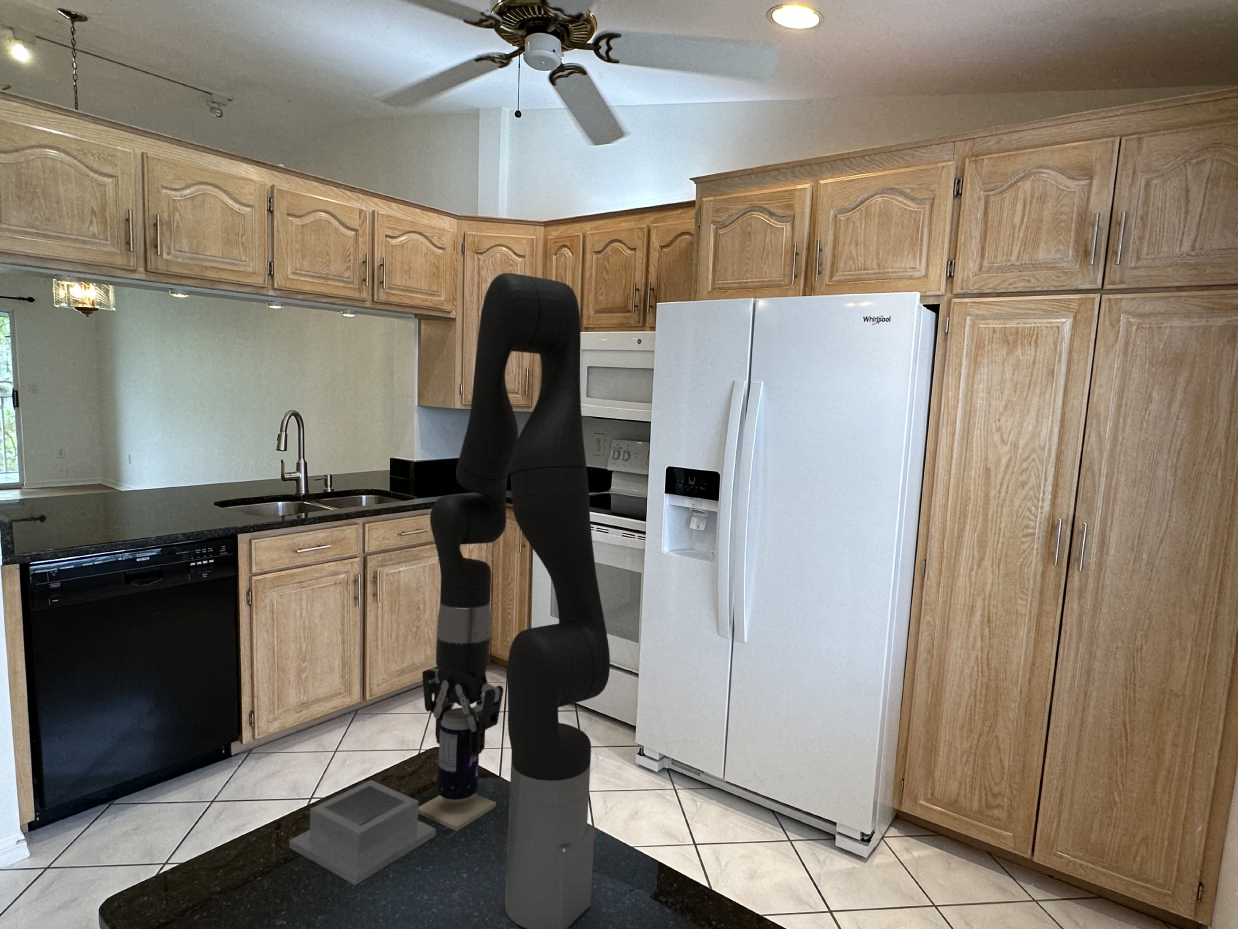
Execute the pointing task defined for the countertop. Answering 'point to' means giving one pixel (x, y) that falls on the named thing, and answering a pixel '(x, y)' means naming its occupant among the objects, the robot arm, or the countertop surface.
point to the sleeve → (362, 831)
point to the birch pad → (456, 811)
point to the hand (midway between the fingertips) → (459, 747)
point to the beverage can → (456, 758)
